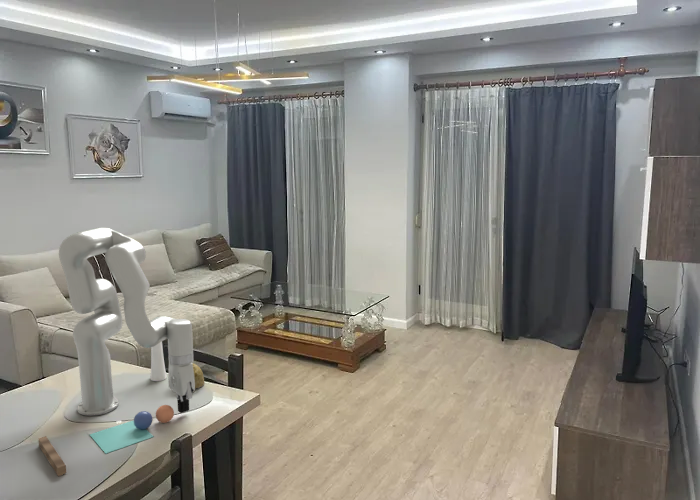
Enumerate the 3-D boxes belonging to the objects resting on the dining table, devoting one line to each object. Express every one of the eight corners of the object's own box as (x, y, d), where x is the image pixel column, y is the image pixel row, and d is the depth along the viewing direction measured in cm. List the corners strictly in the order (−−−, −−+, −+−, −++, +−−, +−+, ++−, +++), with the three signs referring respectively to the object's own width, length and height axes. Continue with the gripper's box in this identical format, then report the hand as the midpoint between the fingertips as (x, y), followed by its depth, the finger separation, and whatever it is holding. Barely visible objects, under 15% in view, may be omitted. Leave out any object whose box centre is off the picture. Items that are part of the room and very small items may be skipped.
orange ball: (167, 400, 174) (169, 415, 175) (151, 406, 170) (153, 422, 172) (176, 405, 170) (177, 421, 172) (159, 412, 167) (161, 428, 168)
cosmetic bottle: (153, 374, 208) (150, 320, 204) (169, 375, 208) (166, 320, 204) (147, 381, 202) (143, 325, 198) (163, 381, 202) (160, 325, 198)
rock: (190, 401, 194) (203, 379, 192) (165, 384, 195) (178, 362, 193) (202, 392, 203) (214, 370, 202) (177, 375, 204) (190, 354, 202)
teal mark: (89, 435, 163) (89, 434, 163) (135, 420, 173) (135, 419, 172) (105, 453, 153) (105, 453, 153) (153, 437, 162) (153, 436, 162)
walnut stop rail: (39, 446, 157) (38, 438, 156) (46, 443, 158) (45, 436, 158) (58, 476, 142) (57, 467, 142) (66, 473, 144) (65, 465, 143)
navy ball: (136, 429, 169) (127, 417, 166) (151, 417, 171) (143, 404, 169) (143, 436, 165) (134, 423, 162) (158, 423, 167) (150, 411, 165)
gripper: (160, 354, 176) (162, 406, 179) (180, 367, 165) (183, 423, 168) (181, 348, 181) (184, 399, 184) (203, 361, 170) (205, 415, 173)
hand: (183, 410), depth 176 cm, fingers closed
